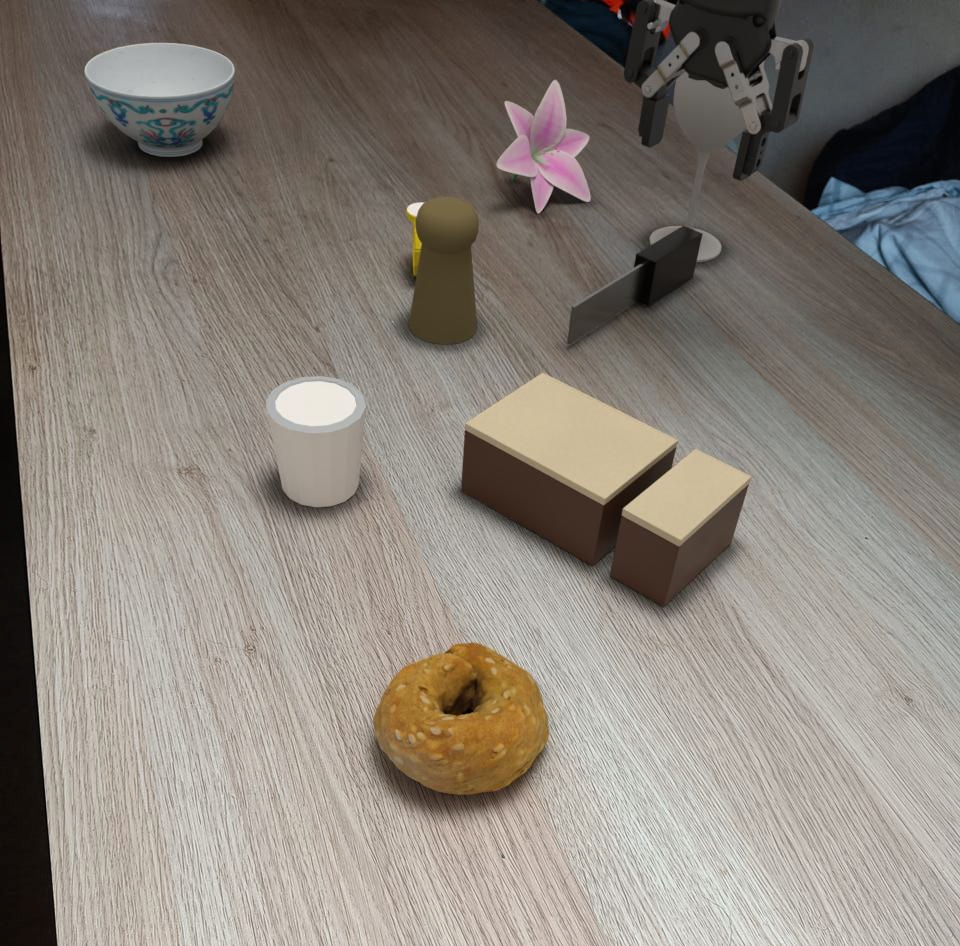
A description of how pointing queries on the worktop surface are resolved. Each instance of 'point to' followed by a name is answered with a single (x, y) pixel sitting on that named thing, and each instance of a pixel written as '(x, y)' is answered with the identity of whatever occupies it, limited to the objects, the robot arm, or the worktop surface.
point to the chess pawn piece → (445, 272)
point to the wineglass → (703, 141)
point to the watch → (414, 234)
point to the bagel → (462, 720)
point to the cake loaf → (562, 464)
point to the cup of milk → (317, 438)
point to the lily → (546, 149)
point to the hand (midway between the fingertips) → (695, 160)
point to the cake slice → (678, 526)
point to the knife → (640, 281)
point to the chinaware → (162, 93)
